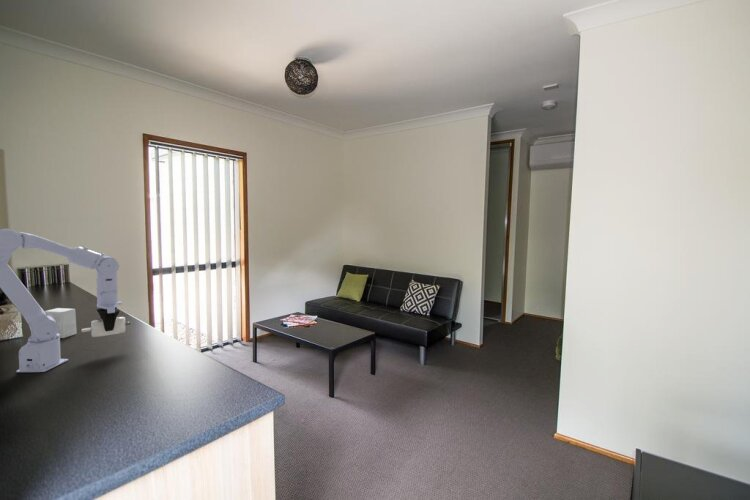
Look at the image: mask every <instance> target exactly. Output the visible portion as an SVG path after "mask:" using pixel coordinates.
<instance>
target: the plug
mask: <svg viewBox="0 0 750 500" xmlns="http://www.w3.org/2000/svg"><path fill="white" fill-rule="evenodd" d="M90 323H91V325H90V327H85V328H81V333H85V332H90V333H91V337H92V338H98V337H104V336H105V337H106V336H111V335H116V334H117V335H118V334H122V333H123V334H124V333H125V332H126V327H127V326H131V321H127V322H126V317H125V316H117V318H116V321H115V325H114V329H113V330H112V331H105V328H104V324H103V320H102V319H101V318H100V319H94V320H92V321H91V322H90Z"/></svg>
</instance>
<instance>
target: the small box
mask: <svg viewBox="0 0 750 500" xmlns="http://www.w3.org/2000/svg"><path fill="white" fill-rule="evenodd" d="M44 312H45V313H46V314H48V315H51V316H53V317H54V318H55V320H56V323H57V324H58V325H59V331H58V333H59V334H60V339H65V338H68V337H72V336H75V335H77V318H76V317H77V315H76V308H67V307H66V308H64V307H55V308H52V309H48V310H44Z"/></svg>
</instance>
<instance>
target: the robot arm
mask: <svg viewBox="0 0 750 500" xmlns="http://www.w3.org/2000/svg"><path fill="white" fill-rule="evenodd" d="M21 246H22V249H23V250H24V249H39V250H43V251H46V252H48V253H49V252H50V253H53V254H57V255H59V256H63V257H66V258H67V260H68V262H69V263H71V264H75V265H78V266H79V267H84V268H87V269H90V270H96V303H97V304H96V309H95V310H96V311H97V313H98V315H99V317H100V320H101V319H102V320H103V324H104V328H105V331H112V330H113V329H114V325H115V321H116V318H117V317H118V315H119V314H120V310H119V309H118V308H117V307H118V306H119V305H123V302H122V301H119V293H118V292H119V291H118V290H119V289H118V288H119V287H118V276H117V275H118V271H119V269H120V264H119V262H118V261H117V260H116V258H113V257H111V256H109V255H106V253H104V252H96V251H94V250H91V249H90V248H89V247H87V246H85V245H83V247H82V246H75V247H70V246H67V245H63V244H61V243H59V242H56V241H54V240H51V239H47V238H45V237H42V236H40V235H39V236H38V235H37V234H32V233H27V232H22V231H19V232H17V231H16V230H14V229H11V228H0V289H1V291H2V292H3V293H4V294H5V296H6V297H7V298H8V299H9V300H10V302H11V303H12V304H13V306H14V307H15V308H16V309H17V310H18V312H19V313H20V315H22V317H23V319H24V320H25V322H26V323H27V324H28V327H29V330H30V333H31V334H30V336H29V337H28V340H27V343H26V344H24V345H23V346H21V348H20V349H19V350H18V365H19V367H18V369H17V370H16V373H45V372H47V371H50V370H51V369H53V368H55V367H57V366H59V365H61V364H64V363H65V362H67V361H69V358H61V338H60V334H59V333H58V331H59V325H58V324H57V323H56V320H55V318H54V317H53V316H51V315H48V314H46V313H45V312H44V311H45V310H44V309H43V308H42V307H41V305H40V304H39V302H38V301H37V300H36V299H35V298H34V296H33V295H32V293H31V292H30V291H29V290H28V288H27V287H26V286H25V285H24V284H23V282H22V280H21V279H20V278H19V277H18V275H17V274H16V272H15V271H14V270H13V269H12V267H11V266H10V265H9V264H8V263H9V261H10V259H11V258H12V255H13V254H14V253H15V252H16V251H17V250H18V249H19V248H20V247H21Z"/></svg>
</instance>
